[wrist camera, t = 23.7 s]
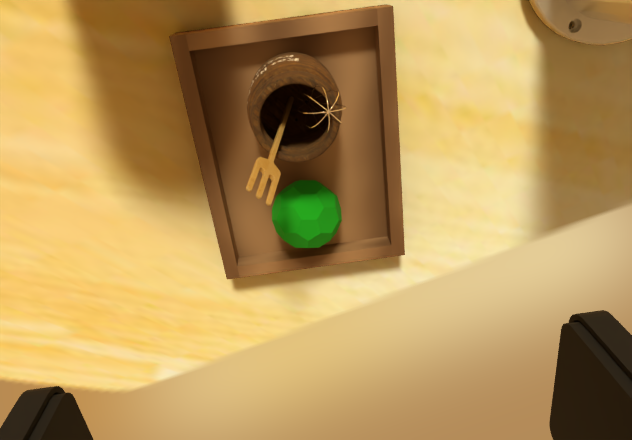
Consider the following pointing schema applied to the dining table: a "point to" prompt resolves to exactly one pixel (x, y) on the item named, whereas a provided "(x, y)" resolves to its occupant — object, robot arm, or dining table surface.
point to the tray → (329, 168)
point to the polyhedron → (306, 214)
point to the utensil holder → (291, 114)
